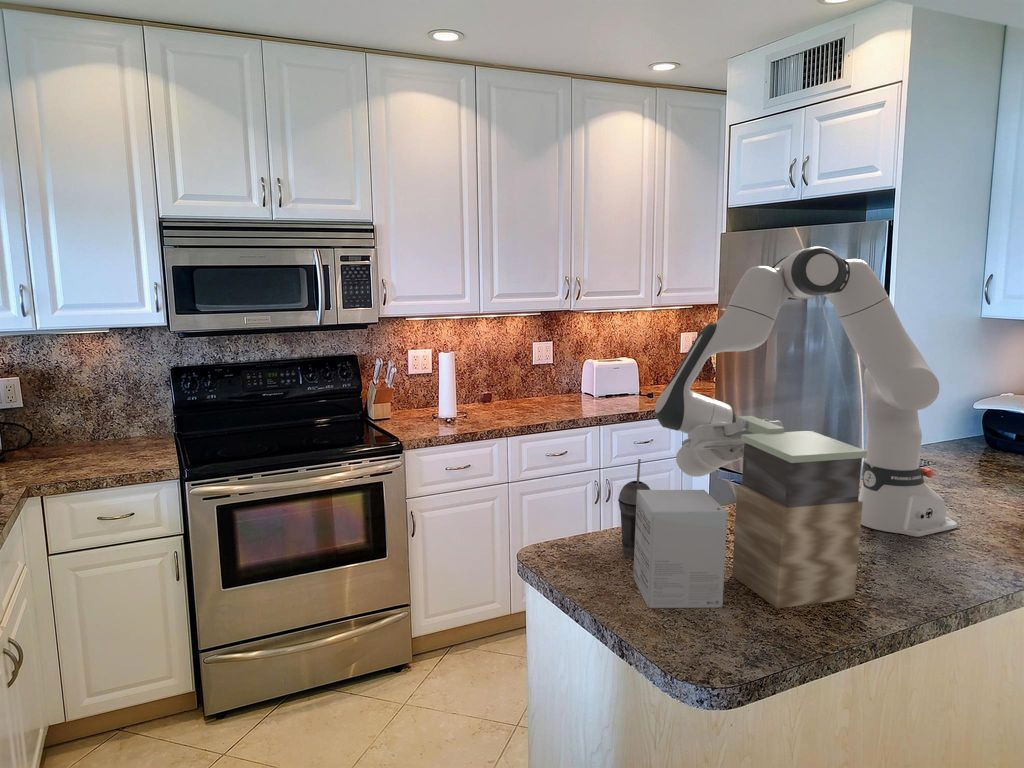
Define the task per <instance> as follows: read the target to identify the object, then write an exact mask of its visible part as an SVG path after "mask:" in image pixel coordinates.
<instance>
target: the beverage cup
mask: <svg viewBox="0 0 1024 768" xmlns="http://www.w3.org/2000/svg"><path fill="white" fill-rule="evenodd" d="M641 463H642V462H641V459H640V458H638V460H637V470H636V471H637V472H636V473H637V474H636V480H632V481H630V482H627V483H626V484H624V486H622V488H621V490H620V492H619V495H618V499H617V500H618V506H619V510H620V525H621V528H620V529H621V546H622V552H623V553H622V554H623V556H624V557H625V558H628V559H632V560H634V549H635V526H636V502H637V490H652V489H651V487H649V485H648V484H646V483H645V482H643V481H640V473H641Z"/></svg>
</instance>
